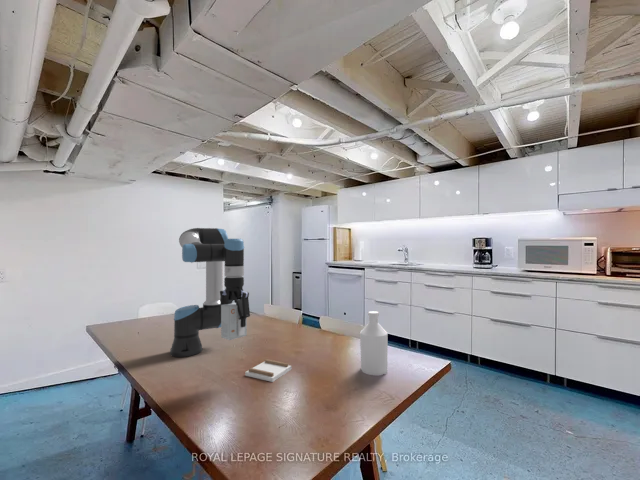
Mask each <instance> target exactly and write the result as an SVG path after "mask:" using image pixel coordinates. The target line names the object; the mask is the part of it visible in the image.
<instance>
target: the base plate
mask: <svg viewBox="0 0 640 480" xmlns="http://www.w3.org/2000/svg"><path fill="white" fill-rule="evenodd" d="M291 370H292V365H289V363H288V362H283V361H278V360H274V359H268V358H266V359H264V361H263V362H261V363H258V364H257V365H255V366H254V367H249V368H248V370H247V371H245V373H244V374H245V376H246V377H250V378H254V379H258V380H262V381H265V382H266V381H268V382H270V383H274V382H275V381H276V380H278V379H280V378H281V377H283V376H284V375H286V374H287V373H288V372H290V371H291Z"/></svg>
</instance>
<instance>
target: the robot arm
mask: <svg viewBox="0 0 640 480" xmlns="http://www.w3.org/2000/svg"><path fill="white" fill-rule="evenodd" d="M178 242H179V245H180V247H181V252H182V253H181V258H182V261H183V262H184V263H191V264H193V263H205V301H204V302H203V303H202V306H201V307H200V306H199V304H191V305H186V306H185V305H184V306H181V307H179V308H177V309H175V312H174V316H173V320H174V323H173V324H174V325H173V326H174V327H173V331H174V332H173V333H174V335H173V341H172V344H171V348H170V350H169V351H170V352H169V354H170V356H171V355H172V356H171V357H173V356H175V357H174V358H186V356H187V357H191V356H195V355H197V354H200V353H202V351H203V345H202V341H201V338H200V335H199V334H200V333H199V332H200V331H204V330H211V329H219V328H221V305H224V304H231V303H236V305H237V309H238V313H239V316H240V318H239V319H238V336H241V335H244V334H245V326H246V318H250V317H251V313H250V312H251V311H250V310H251V309H250V302H249V296H250V292H249V291H244V289H243V287H244V284H245V283H244V282H245V279H244V278H245V277H244V274H245V267H244V266H245V265H244V263H245V262H244V260H245V259H244V257H245V244H244V242H245V241H244V239H243V238H229V235H228V233H227V231H226V230H225V229H224V228H217V227H216V228H214V227H211V228H210V227H207V228H205V227H204V228H203V227H195V228H189V229H187V230H185V231H183V232H182V233H181V234H180V236H179V239H178ZM223 263H224V265H223ZM223 266H224V268H223ZM223 269H224V278H223ZM223 279H224V281H223ZM223 282H224V286H223ZM224 287H225V289H223V288H224Z"/></svg>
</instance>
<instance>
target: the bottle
mask: <svg viewBox="0 0 640 480" xmlns="http://www.w3.org/2000/svg"><path fill="white" fill-rule="evenodd" d="M367 313H368V323H367V324H366V325H365V326H364V328H362V329H361V330H360V332H359V338H360V341H359V342H360V343H359V344H360V345H359V346H360V371H361V372H362V373H364V374H366V375H369V376H382V375H383V374H384V375H386V374H388V336H389V335H388V331H386V330H385V329H384V327H383V326H382V325H381V324H380V323H379V315H380V314H379V313H380V312H379V311H376V310H375V311H373V310H369V311H368V312H367Z"/></svg>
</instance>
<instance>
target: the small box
mask: <svg viewBox="0 0 640 480" xmlns="http://www.w3.org/2000/svg"><path fill="white" fill-rule="evenodd" d="M239 318H240V316H239V313H238V309H237V305H236V303H235V302H232V303H231V304H224V305H221V327H220V328H221V329H220V331H221V332H220V333H221V335H220V336H221V338H222V339H224V340H228V341H231V340H236V339H239V338H243V337H247V335H248V332H247V330H248V327H247V326H248V325H247V318H248V317H247V318H246V326H245V334H244V335H241V336H238V319H239Z"/></svg>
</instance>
